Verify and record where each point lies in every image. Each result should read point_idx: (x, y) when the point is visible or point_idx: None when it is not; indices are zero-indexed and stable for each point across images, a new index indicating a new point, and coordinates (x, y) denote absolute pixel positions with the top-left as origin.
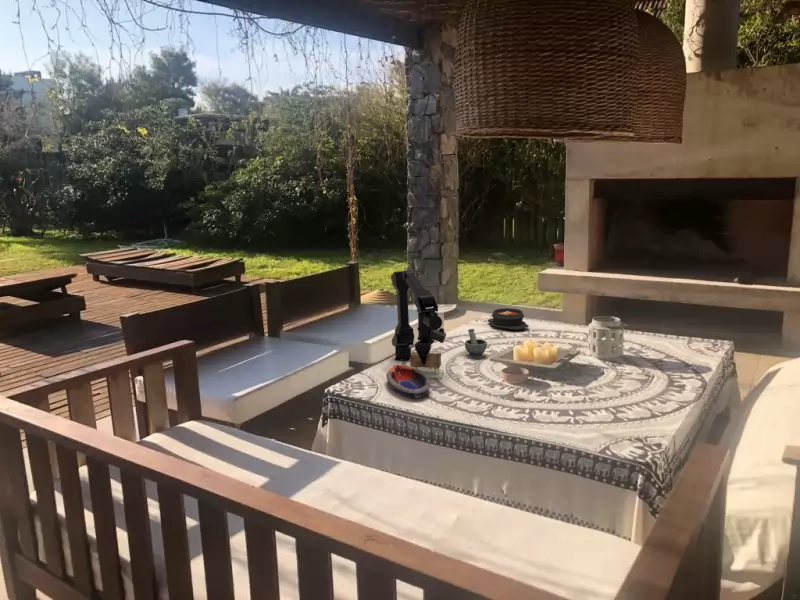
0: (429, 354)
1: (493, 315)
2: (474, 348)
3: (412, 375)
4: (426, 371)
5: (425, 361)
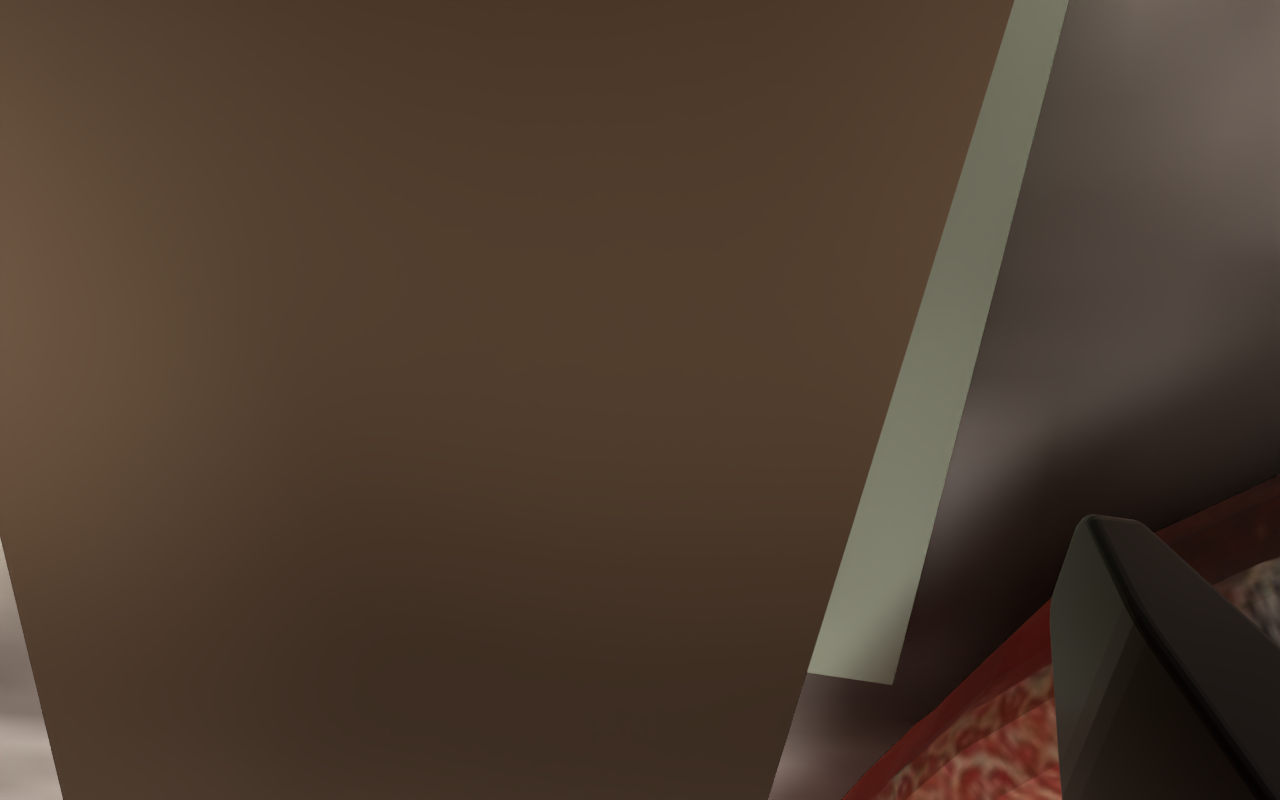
0: (388, 552)
1: None
2: None
3: None
4: None
5: (1256, 647)
